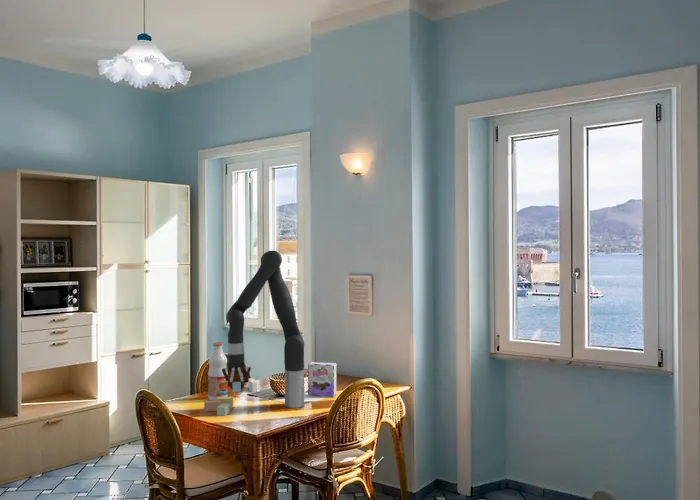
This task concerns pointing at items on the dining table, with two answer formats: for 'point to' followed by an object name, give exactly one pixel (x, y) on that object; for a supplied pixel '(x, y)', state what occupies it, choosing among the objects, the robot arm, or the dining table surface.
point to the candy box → (322, 379)
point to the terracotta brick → (211, 405)
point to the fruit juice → (217, 373)
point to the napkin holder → (252, 385)
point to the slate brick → (236, 386)
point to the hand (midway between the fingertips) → (237, 389)
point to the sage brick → (223, 409)
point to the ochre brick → (226, 400)
